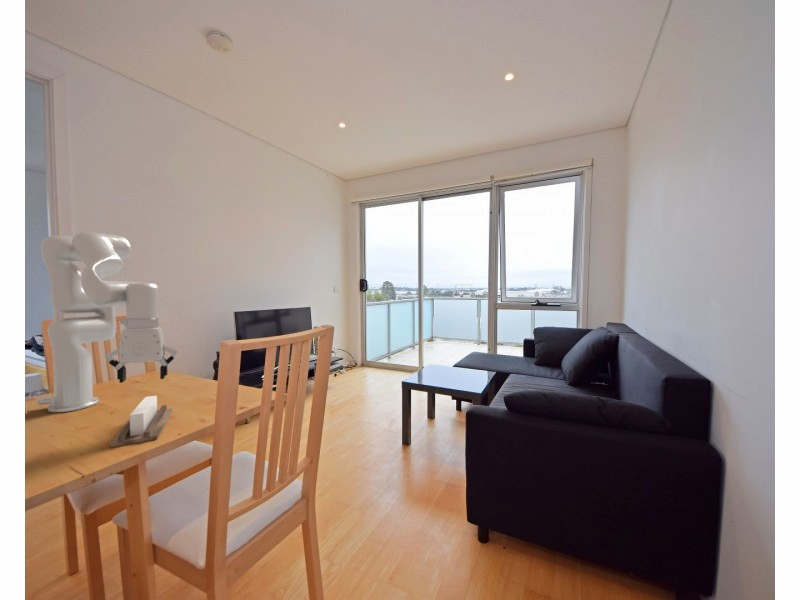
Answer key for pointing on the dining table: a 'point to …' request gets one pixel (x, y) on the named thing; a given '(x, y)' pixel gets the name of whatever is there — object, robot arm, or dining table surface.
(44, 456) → the dining table surface
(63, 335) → the robot arm
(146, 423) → the white strip
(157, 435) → the walnut rack
